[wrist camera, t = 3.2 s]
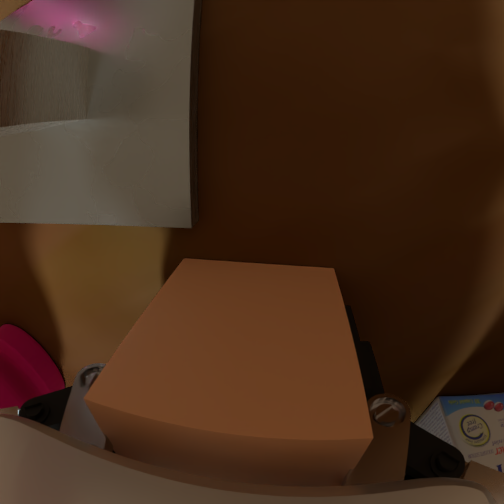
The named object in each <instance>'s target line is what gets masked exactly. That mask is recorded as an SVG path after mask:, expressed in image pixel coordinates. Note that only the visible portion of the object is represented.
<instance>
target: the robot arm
mask: <svg viewBox="0 0 504 504" xmlns="http://www.w3.org/2000/svg"><path fill="white" fill-rule="evenodd" d="M345 310H346V314H347V317H348V321H349V325H350V329H351V333H352V337H353V341H354V346H355V350H356V354H357V358H358V363H359V367H360V372H361V376H362V381H363V386H364V390H365V395H366V400H367V405H368V410H369V416H370V421H371V427H372V432H373V439H372V441H371V443H370V444H369V446H368V448H367V449H366V451H365V453H364V454H363V456H362V457H361V459H360V460H359V462H358V463H357V465H356V466H355V468H354V469H349V471H348V473H347V474H346V476H345V477H344V479H343V481H342V485H341V486H325V487H299V486H276V485H262V484H251V483H242V482H234V481H227V480H220V479H214V478H208V477H202V476H197V475H192V474H187V473H182V472H178V471H174V470H170V469H165V468H162V467H158V466H154V465H150V464H147V463H143V462H140V461H136V460H133V459H130V458H127V457H124V456H121V455H118V454H116V453H115V452H114V450H113V445H112V443H111V442H110V440H109V439H108V437H107V435H105V434H103V432H102V431H101V429H100V427H99V426H98V424H97V422H96V421H95V419H94V417H93V415H92V413H91V412H90V410H89V408H88V406H87V404H86V402H85V401H84V399H83V398H84V397H85V395H86V394H87V392H88V391H89V389H90V388H91V386H92V385H93V383H94V382H95V380H96V379H97V377H98V376H99V374H100V373H101V371H102V370H103V368H104V367H105V365H106V364H101V363H97V364H91V365H88V366H86V367H84V368H82V369H81V370H80V371H79V372H78V374H77V376H76V377H75V380H74V383H73V386H71V387H67V388H64V389H61V390H58V391H54V392H51V393H48V394H44V395H41V396H37V397H34V398H31V399H29V400H27V401H26V402H25V403H24V404H23V405H22V406H21V408H20V409H19V407H18V406H14V407H8V408H2V409H0V504H504V473H503V472H500V471H497V470H495V469H492V468H490V467H487V466H485V465H482V464H480V463H477V462H475V461H472V460H471V461H470V462H469V463H468V462H466V461H465V459H464V456H463V454H462V453H461V452H460V450H458V449H457V448H456V447H454V446H452V445H450V444H449V443H447V442H445V441H443V440H442V439H440V438H438V437H436V436H435V435H433V434H431V433H429V432H428V431H426V430H424V429H423V428H421V427H419V426H418V425H416V424H414V423H412V422H411V421H410V420H411V412H410V408H409V406H408V404H407V403H406V402H405V401H404V400H403V399H401V398H400V397H398V396H396V395H392V394H385V393H384V390H383V386H382V382H381V378H380V375H379V371H378V368H377V364H376V361H375V357H374V354H373V351H372V347H371V344H370V342H368V341H360V339H359V335H358V332H357V328H356V324H355V321H354V317H353V314H352V310H351V307H350V306H345Z"/></svg>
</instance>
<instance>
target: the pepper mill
mask: <svg viewBox="0 0 504 504" xmlns="http://www.w3.org/2000/svg"><path fill="white" fill-rule="evenodd" d="M64 388H65V384H64V381H63V378H62V375H61V373H60V371H59V369H58V368H57V366H56V365H55V363H54V362H53V360H52V359H51V357H50V356H49V355H48V354H47V352H46V351H45V350H44V349H43V347H42V346H41V345H40V344H39V343H38V342H37V341H36V340H35V339H33V338H32V337H31V336H30V335H29V334H28V333H27V332H25V331H24V330H22V329H21V328H19V327H17V326H15V325H12V324H4V325H2V326H1V327H0V409H2V408H8V407H14V406H18V407H19V409H20V408H21V406H22V405H23V404H24V403H25V402H26V401H27V400H29V399H31V398H34V397H37V396H41V395H44V394H48V393H51V392H54V391H58V390H61V389H64Z"/></svg>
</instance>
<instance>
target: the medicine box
mask: <svg viewBox="0 0 504 504" xmlns="http://www.w3.org/2000/svg"><path fill="white" fill-rule="evenodd" d="M414 424H416V425H418V426H419V427H421V428H423V429H424V430H426V431H428V432H429V433H431V434H433V435H435V436H436V437H438V438H440V439H442V440H443V441H445V442H447V443H449V444H450V445H452V446H454V447H456V448H457V449H458V450H460V452H461V453H462V454H463V456H464V459H465V461H466V462H468V463H469V462H470V461H471V460H472V461H475V462H477V463H480V464H482V465H485V466H487V467H490V468H492V469H495V470H497V471H500V472H503V473H504V393H493V394H483V395H468V396H439V397H436V399H435V400H434V401H433V402H432V404H431V405H430V406H429V407H428V408H427V409H426V411H425V412H424V413H423V414H422V415H421V416H420V417H419V419H418V420H417V421H416V422H415V423H414Z"/></svg>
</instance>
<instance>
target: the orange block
mask: <svg viewBox="0 0 504 504" xmlns="http://www.w3.org/2000/svg"><path fill="white" fill-rule="evenodd" d="M83 399H84V401H85V402H86V404H87V406H88V408H89V410H90V412H91V413H92V415H93V417H94V419H95V421H96V422H97V424H98V426H99V427H100V429H101V431H102V432H103V434H105V435H107V437H108V439H109V440H110V442H111V443H112V445H113V450H114V452H115V453H116V454H118V455H121V456H124V457H127V458H130V459H133V460H136V461H140V462H143V463H147V464H150V465H154V466H158V467H162V468H165V469H170V470H174V471H178V472H182V473H187V474H192V475H197V476H202V477H208V478H214V479H220V480H227V481H234V482H242V483H251V484H262V485H276V486H299V487H325V486H341V485H342V481H343V479H344V477H345V476H346V474H347V473H348V471H349V469H354V468H355V466H356V465H357V463H358V462H359V460H360V459H361V457H362V456H363V454H364V453H365V451H366V449H367V448H368V446H369V444H370V443H371V441H372V439H373V432H372V427H371V421H370V416H369V410H368V405H367V400H366V395H365V390H364V386H363V381H362V376H361V372H360V367H359V363H358V358H357V354H356V350H355V346H354V341H353V337H352V333H351V329H350V325H349V321H348V317H347V314H346V310H345V306H344V302H343V299H342V295H341V291H340V288H339V284H338V281H337V277H336V274H335V270H334V268H324V267H307V266H292V265H276V264H261V263H246V262H232V261H218V260H203V259H190V258H184V259H183V260H182V261H181V263H180V264H179V265H178V267H177V268H176V269H175V271H174V272H173V273H172V274H171V276H170V277H169V278H168V280H167V281H166V282H165V284H164V285H163V286H162V288H161V289H160V290H159V292H158V293H157V294H156V296H155V297H154V298H153V300H152V301H151V302H150V304H149V305H148V306H147V308H146V309H145V311H144V312H143V313H142V315H141V316H140V317H139V319H138V320H137V322H136V323H135V324H134V326H133V327H132V328H131V330H130V331H129V333H128V334H127V335H126V337H125V338H124V340H123V341H122V342H121V344H120V345H119V347H118V348H117V350H116V351H115V352H114V354H113V355H112V357H111V358H110V360H109V361H108V363H107V364H106V365H105V367H104V368H103V370H102V371H101V373H100V374H99V376H98V377H97V379H96V380H95V382H94V383H93V385H92V386H91V388H90V389H89V391H88V392H87V394H86V395H85V397H84V398H83Z"/></svg>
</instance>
